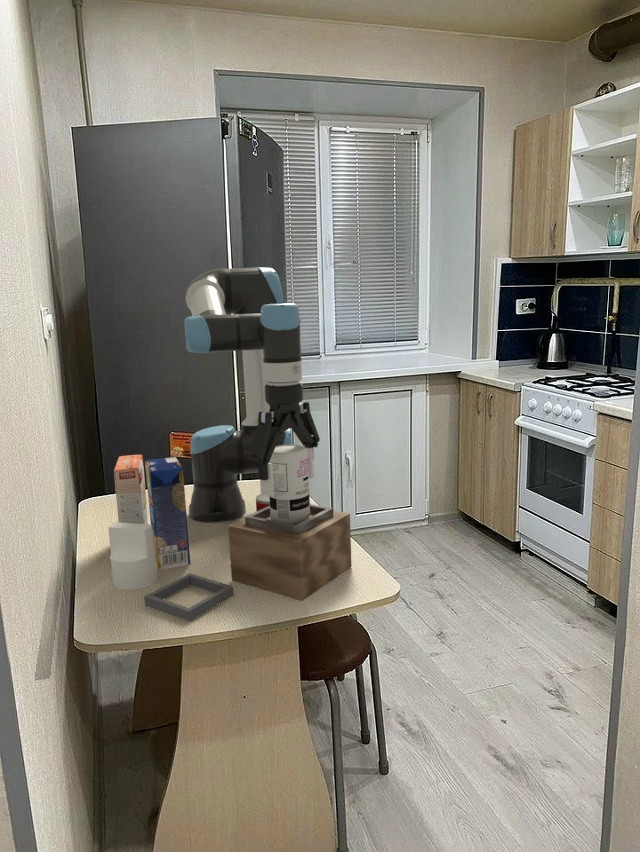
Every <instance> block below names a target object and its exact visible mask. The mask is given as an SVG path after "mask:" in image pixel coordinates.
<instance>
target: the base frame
mask: <svg viewBox="0 0 640 852" xmlns="http://www.w3.org/2000/svg"><path fill="white" fill-rule="evenodd" d="M189 585H190V586H191V587H194V586H195V587H194V588H198V587H199V588H198V589H201V588H202V589H201V590H204V589H205V591H207V590H208V592H211V593H213V594H210V595H209V596H208V597H206V598H204V599H202V600H200V601H198V602H197V603H195V604H193V605H192V606H190V607H186V606H184V605H181V604H179V603H175V602H172V601H170V600H166V598H169V597H171V596H172V595H174V594H176V593H178V592H180V591H181V590H184V589H185V588H189ZM214 592H215V593H214ZM234 593H235V592H234V586H233V585H230V584H227V583H223V582H220V581H217V580H214V579H210V578H208V577H204V576H200V575H197V574H193V573H191V572H190V573H187V574H185V575H183V576H182V577H179V578H177V579H176V580H173V581H172V582H169V583H167V584H166V585H164V586H161V587H159V588H158V589H156V590H153V591H151V592H150V593H148V594H146V595H144V597H143V599H144V606H145V607H147V608H149V607H150V609H152V608H153V610H155V609H156V611H158V610H159V611H158V612H162V613H164V614H166V613H167V614H168V615H170V616H172V617H175V618H178V617H179V618H178V619H181V620H183V619H184V620H183V621H186V620H187V622H189V621H190V622H192V621H194V620H195V619H196V617H197V616H198V617H200V616H201V614H202V613H203V614H205V613H207V612H208V611H210V610H212V609H213V608H212V607H214V606H215V607H217V606H218V605H217V604H219V603H220V604H222V603H224V602H225V601H227V600H229V599H231V598H232V597H234ZM230 597H231V598H230ZM164 598H165V599H164ZM223 601H224V602H223ZM221 602H222V603H221ZM220 604H219V605H220ZM216 605H217V606H216ZM215 607H214V608H215ZM211 608H212V609H211ZM209 609H210V610H209ZM207 610H208V611H207ZM206 611H207V612H206ZM204 612H205V613H204ZM203 614H202V615H203ZM199 615H200V616H199ZM198 617H197V618H198ZM194 618H195V619H194ZM191 620H192V621H191Z"/></svg>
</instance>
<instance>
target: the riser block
mask: <svg viewBox="0 0 640 852" xmlns="http://www.w3.org/2000/svg"><path fill="white" fill-rule="evenodd" d="M227 529H228V546H229V557H230V558H229V559H230V572H231V573H230V575H231V581H232V582H236V583H238V584H239V583H240V584H243V585H246V586H249V587H253V588H256V589H260V590H264V591H267V592H270V593H274V594H277V595H282V596H283V597H288V598H290V599H291V598H292V599H296V600H298V601H304V600H306V599H307V598H309V597H310V596H311V595H313V594H314V593H316V592H317V591H319V590H320V589H322V588H323V587H324V586H326V585H327V584H329V583H330V582H332V581H333V580H334V579H335V580H336V578H338V577H339V576H340V575H342V574H343V573H345V572H347V570H349V569H351V568H352V566H353V565H352V543H351V542H352V541H351V539H352V536H351V513H349V512H343V511H339V510H334V508H333V507H328V506H322V505H318V504H311V503H310V517H309V518H307V519H306V520H305V521H303V522H301V523H299V524H294V525H291V524H287V523H282V522H277V521H274V520H272V519H271V517H270V506H268V507H266V508H263V509H261V510H259V511H257V512H256V511H254V512H252V513H250V514H248V515H246V516H245V517H243V518H241V519H239V520H236V521H235V522H233V523H230V524H229V525H227Z"/></svg>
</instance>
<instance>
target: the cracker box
mask: <svg viewBox="0 0 640 852" xmlns="http://www.w3.org/2000/svg"><path fill="white" fill-rule="evenodd" d="M113 477H114V489H115V497H116V500H115V501H116V507H117V508H116V509H117V510H116V511H117V516H118V517H117V520H118V522H120V523H134V524H149V520H148V519H149V518H148V507H147V492H146V480H145V469H144V458H143V454H132V455H131V454H130V455H128V454H127V455H121V456H118V459H117V461H116V464H115V467H114V470H113Z"/></svg>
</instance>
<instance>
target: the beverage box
mask: <svg viewBox="0 0 640 852" xmlns="http://www.w3.org/2000/svg"><path fill="white" fill-rule="evenodd" d="M144 464H145V465H144V466H145V474H146V475H145V476H146V487H147V495H148V496H147V497H148V506H149V508H148V509H149V519H150V520H149V521H150V525H152V529H153V540H154V549H155V554H156V565H157V568H158V570H159V571H160V570H164V569H165V570H166V569H172V568H177V567H183V566H189V565H191V554H190V552H191V551H190V542H189V541H190V540H189V539H190V538H189V529H188V517H187V516H188V514H187V503H186V493H185V490H186V489H185V479H184V477H185V476H184V468H183V466H182V465H181V463H180V461H179V460H178V459H177V456H173V457H164V458H156V459H147V460H144Z"/></svg>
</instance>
